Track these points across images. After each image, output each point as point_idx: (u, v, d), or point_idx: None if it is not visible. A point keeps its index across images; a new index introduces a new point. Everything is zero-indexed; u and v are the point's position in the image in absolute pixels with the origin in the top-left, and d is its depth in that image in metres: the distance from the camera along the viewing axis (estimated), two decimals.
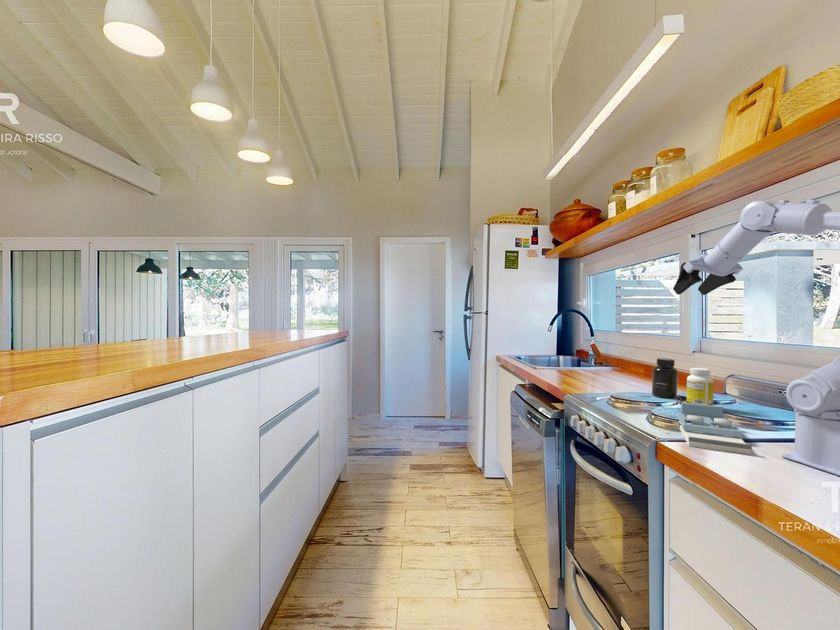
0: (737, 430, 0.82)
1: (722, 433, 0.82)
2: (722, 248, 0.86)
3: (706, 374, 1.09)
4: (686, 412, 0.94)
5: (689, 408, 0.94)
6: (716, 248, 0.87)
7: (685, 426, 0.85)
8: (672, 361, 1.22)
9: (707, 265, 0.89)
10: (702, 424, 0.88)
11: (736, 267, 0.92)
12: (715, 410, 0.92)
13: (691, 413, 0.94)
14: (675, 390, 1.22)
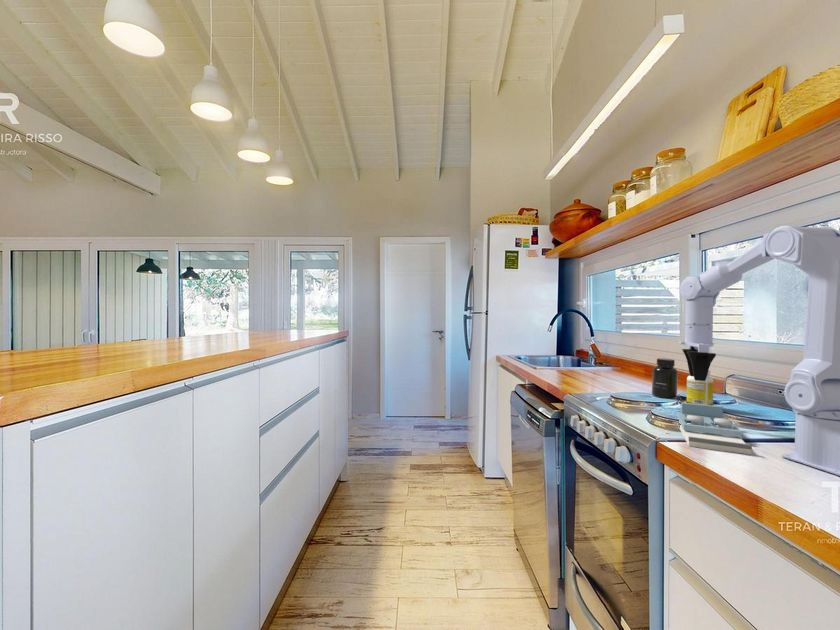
0: (737, 430, 0.82)
1: (722, 433, 0.82)
2: (688, 323, 0.98)
3: None
4: (686, 412, 0.94)
5: (689, 408, 0.94)
6: (695, 327, 0.97)
7: (685, 426, 0.85)
8: (672, 361, 1.22)
9: (702, 343, 0.96)
10: (702, 424, 0.88)
11: None
12: (715, 410, 0.92)
13: (691, 413, 0.94)
14: (675, 390, 1.22)
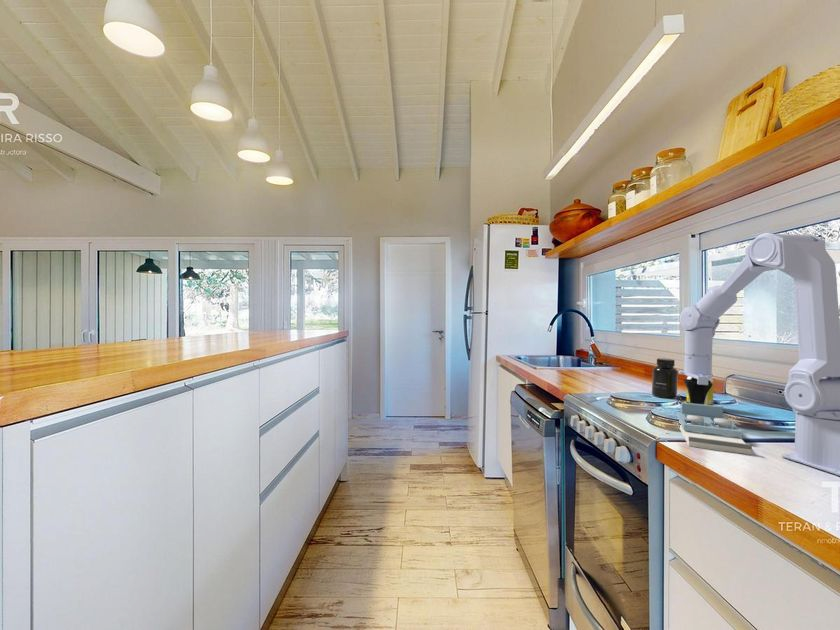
0: (737, 430, 0.82)
1: (722, 433, 0.82)
2: (687, 353, 0.98)
3: None
4: (686, 412, 0.94)
5: (689, 408, 0.94)
6: (694, 358, 0.97)
7: (685, 426, 0.85)
8: (672, 361, 1.22)
9: (701, 374, 0.96)
10: (702, 424, 0.88)
11: None
12: (715, 410, 0.92)
13: (691, 413, 0.94)
14: (675, 390, 1.22)
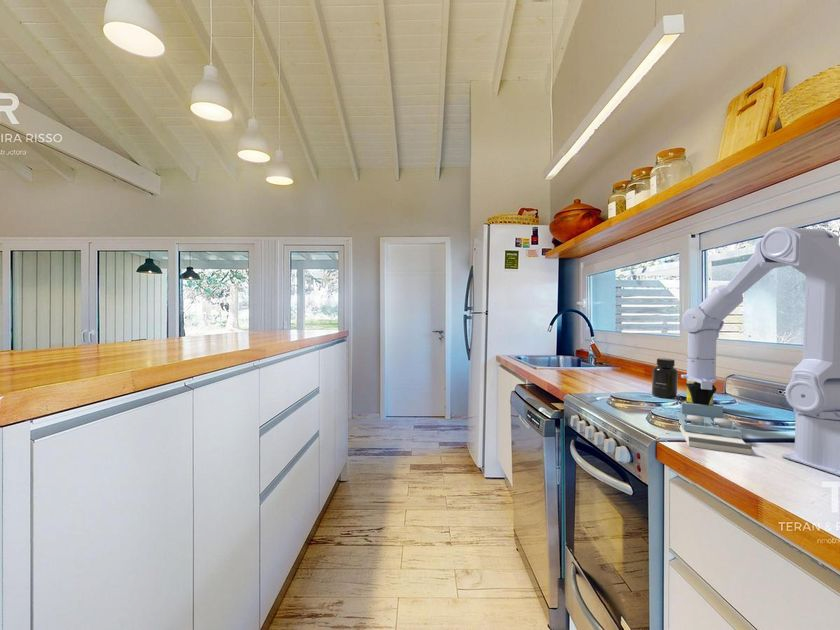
0: (737, 430, 0.82)
1: (723, 433, 0.82)
2: (691, 356, 0.94)
3: None
4: (686, 412, 0.94)
5: (689, 408, 0.94)
6: (697, 361, 0.93)
7: (685, 426, 0.85)
8: (672, 361, 1.22)
9: (705, 378, 0.92)
10: (702, 424, 0.88)
11: None
12: (715, 410, 0.92)
13: (691, 413, 0.94)
14: (675, 390, 1.22)
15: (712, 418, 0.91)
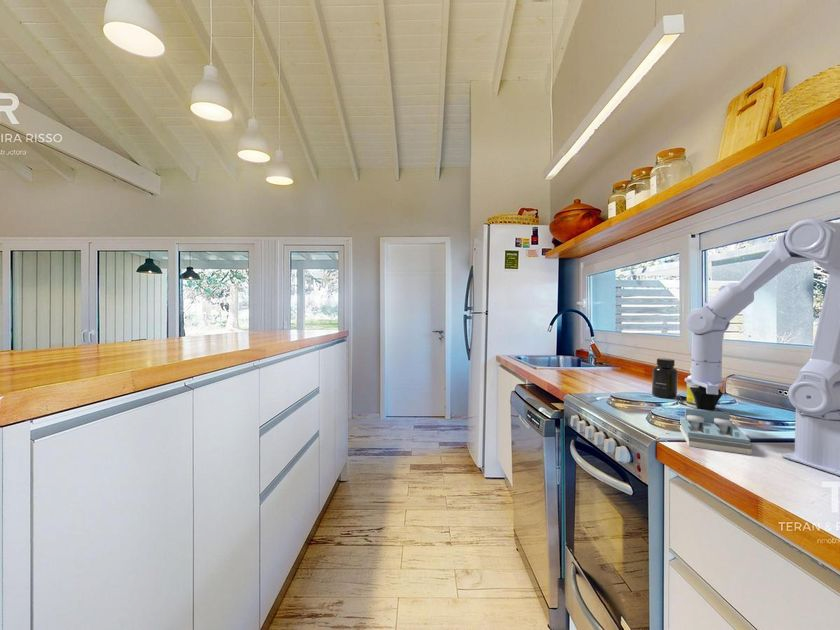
0: (745, 438, 0.76)
1: None
2: (698, 359, 0.89)
3: None
4: None
5: (693, 414, 0.89)
6: (702, 364, 0.88)
7: (690, 434, 0.80)
8: (672, 361, 1.22)
9: (710, 382, 0.87)
10: (707, 431, 0.83)
11: None
12: (721, 416, 0.86)
13: None
14: (675, 390, 1.22)
15: None
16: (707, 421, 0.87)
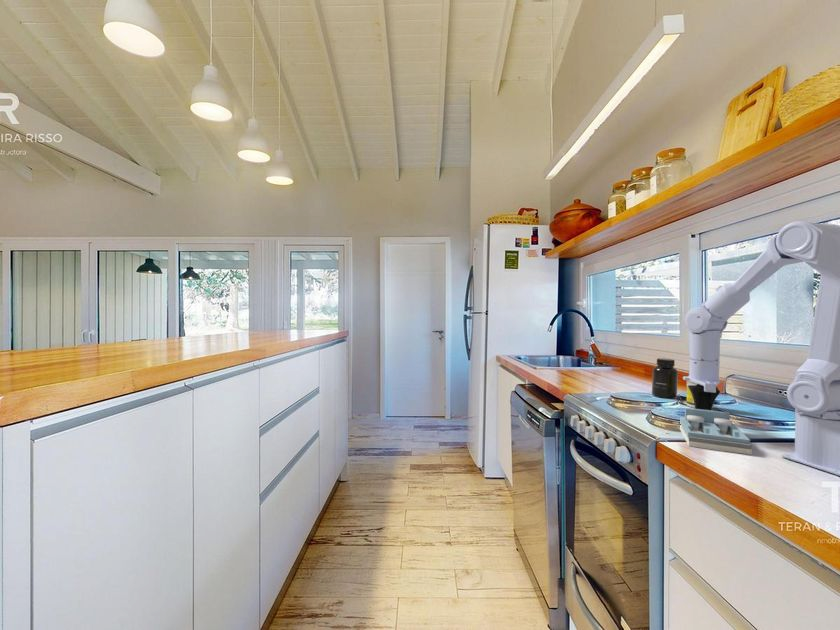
0: (745, 438, 0.76)
1: None
2: (695, 358, 0.91)
3: None
4: None
5: (693, 414, 0.89)
6: (700, 363, 0.90)
7: (690, 434, 0.80)
8: (672, 361, 1.22)
9: (708, 380, 0.89)
10: (707, 431, 0.83)
11: None
12: (721, 416, 0.86)
13: None
14: (675, 390, 1.22)
15: None
16: (707, 421, 0.87)
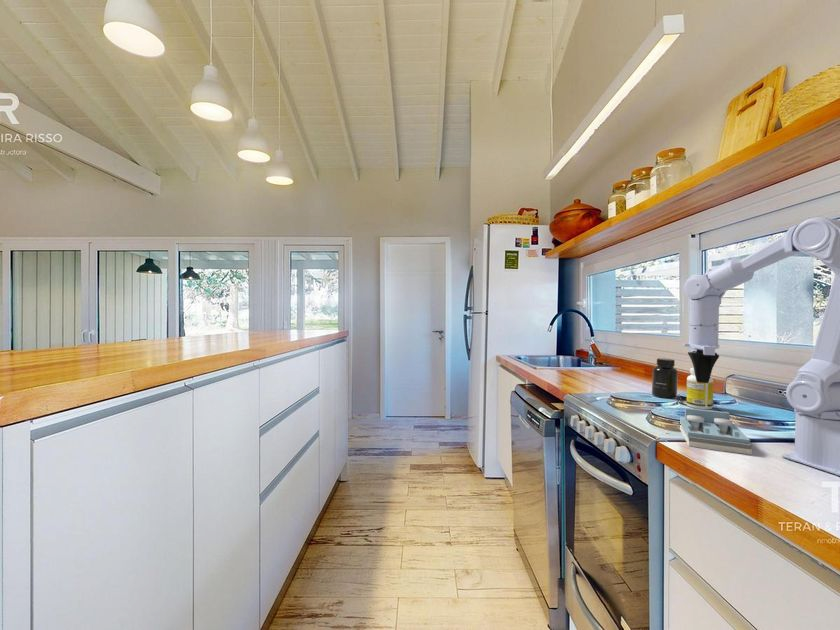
0: (745, 438, 0.76)
1: None
2: (694, 324, 0.92)
3: None
4: None
5: (693, 414, 0.89)
6: (699, 328, 0.91)
7: (690, 434, 0.80)
8: (672, 361, 1.22)
9: (708, 345, 0.90)
10: (707, 431, 0.83)
11: None
12: (721, 416, 0.86)
13: None
14: (675, 390, 1.22)
15: None
16: (707, 421, 0.87)
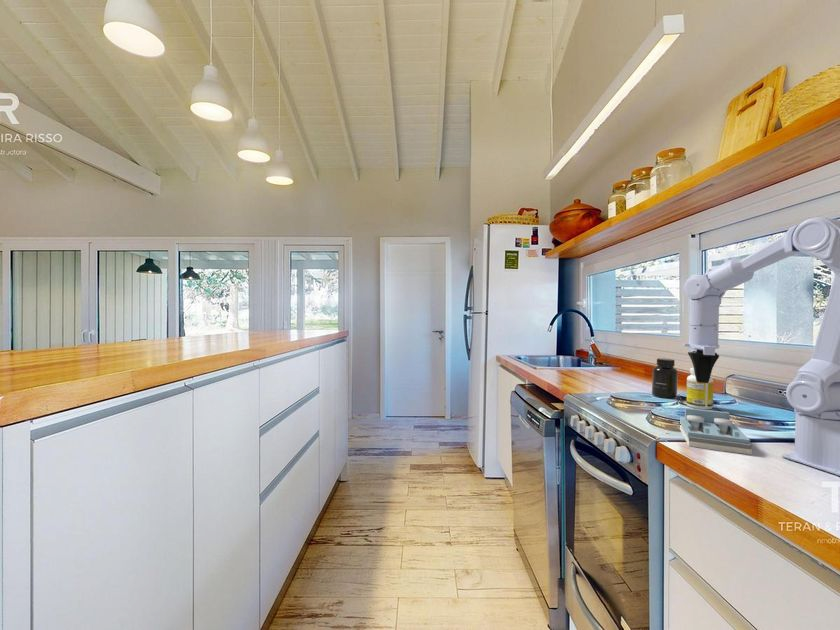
0: (745, 438, 0.76)
1: None
2: (694, 324, 0.92)
3: None
4: None
5: (693, 414, 0.89)
6: (699, 328, 0.91)
7: (690, 434, 0.80)
8: (672, 361, 1.22)
9: (708, 345, 0.90)
10: (707, 431, 0.83)
11: None
12: (721, 416, 0.86)
13: None
14: (675, 390, 1.22)
15: None
16: (707, 421, 0.87)
